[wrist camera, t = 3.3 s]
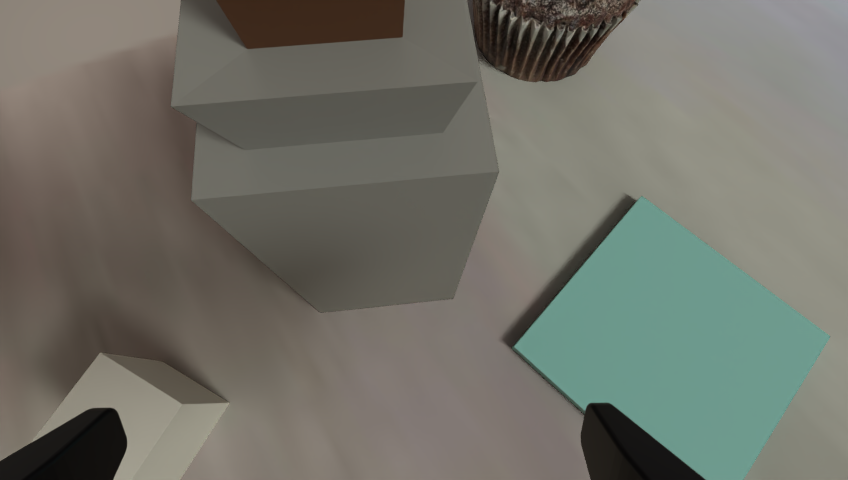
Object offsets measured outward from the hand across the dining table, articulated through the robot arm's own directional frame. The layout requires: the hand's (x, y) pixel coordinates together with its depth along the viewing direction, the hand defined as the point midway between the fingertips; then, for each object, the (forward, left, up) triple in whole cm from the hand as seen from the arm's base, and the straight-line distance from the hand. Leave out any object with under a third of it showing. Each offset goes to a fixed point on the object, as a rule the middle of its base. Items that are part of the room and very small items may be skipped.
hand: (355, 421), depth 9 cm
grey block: (-8, +7, -13) cm, 17 cm away
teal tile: (+11, -8, -13) cm, 19 cm away
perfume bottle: (+5, +6, -13) cm, 16 cm away
